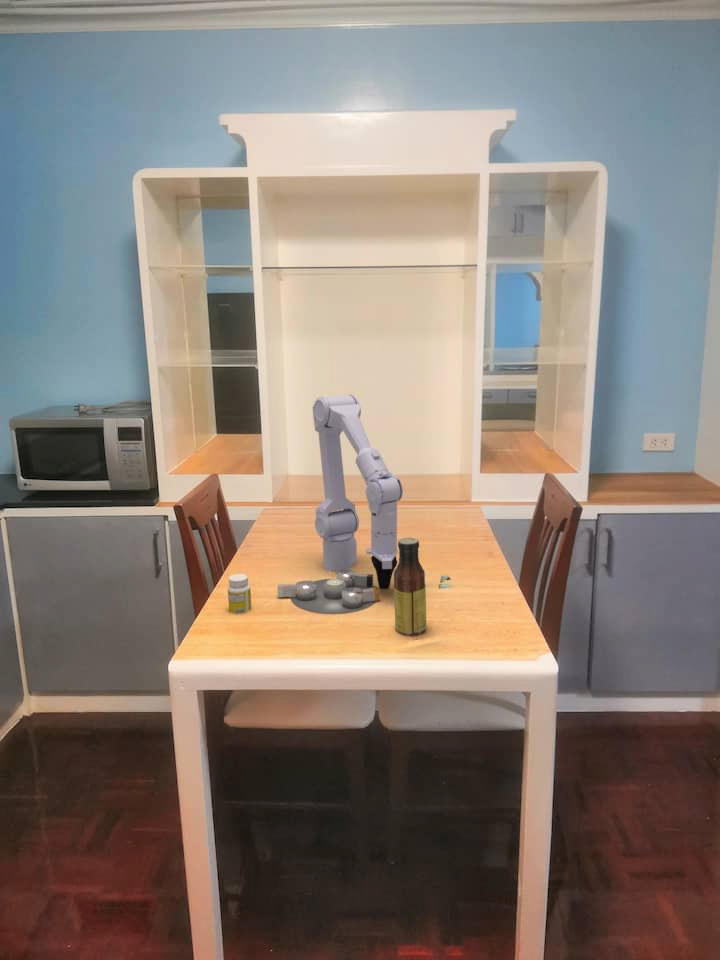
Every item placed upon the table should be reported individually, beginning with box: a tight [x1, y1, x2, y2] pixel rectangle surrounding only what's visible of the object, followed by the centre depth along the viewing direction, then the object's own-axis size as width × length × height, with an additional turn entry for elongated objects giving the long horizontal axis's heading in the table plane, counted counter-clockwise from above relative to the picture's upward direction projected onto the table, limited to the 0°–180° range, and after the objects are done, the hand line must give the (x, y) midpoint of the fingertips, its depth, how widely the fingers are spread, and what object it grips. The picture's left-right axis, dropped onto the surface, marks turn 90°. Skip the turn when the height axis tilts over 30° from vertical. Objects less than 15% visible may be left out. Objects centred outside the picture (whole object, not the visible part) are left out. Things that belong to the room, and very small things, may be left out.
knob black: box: [336, 569, 374, 588], centre depth 153 cm, size 8×5×3 cm, turn 78°
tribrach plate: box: [289, 578, 378, 615], centre depth 148 cm, size 20×20×5 cm
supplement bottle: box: [227, 573, 252, 614], centre depth 141 cm, size 5×5×8 cm
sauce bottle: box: [393, 537, 427, 641], centre depth 129 cm, size 7×6×20 cm
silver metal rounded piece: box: [277, 580, 316, 600], centre depth 147 cm, size 8×5×3 cm, turn 90°
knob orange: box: [342, 586, 381, 608], centre depth 143 cm, size 8×5×3 cm, turn 113°
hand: (384, 587), depth 149 cm, fingers closed
